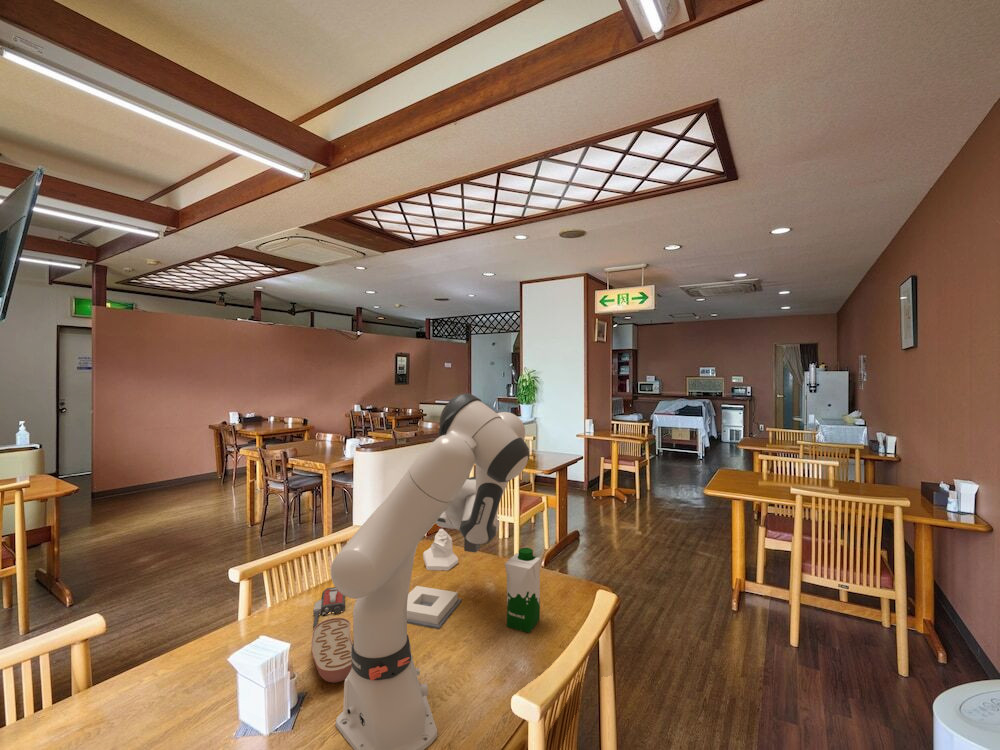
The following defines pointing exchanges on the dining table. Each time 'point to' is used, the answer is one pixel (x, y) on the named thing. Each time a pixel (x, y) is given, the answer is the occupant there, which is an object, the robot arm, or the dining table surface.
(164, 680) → the dining table surface
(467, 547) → the plug
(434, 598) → the socket
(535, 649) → the dining table surface
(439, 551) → the white statue
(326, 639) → the anatomical model
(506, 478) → the robot arm
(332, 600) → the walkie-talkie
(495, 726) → the dining table surface
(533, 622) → the milk carton
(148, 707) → the dining table surface
